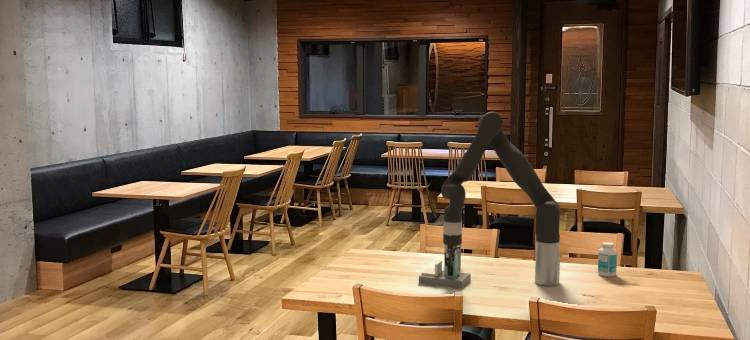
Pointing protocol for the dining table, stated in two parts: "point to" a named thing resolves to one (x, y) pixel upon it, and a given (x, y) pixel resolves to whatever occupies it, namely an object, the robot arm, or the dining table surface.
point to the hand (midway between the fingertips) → (452, 274)
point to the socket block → (446, 280)
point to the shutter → (434, 270)
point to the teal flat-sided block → (455, 268)
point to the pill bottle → (607, 260)
